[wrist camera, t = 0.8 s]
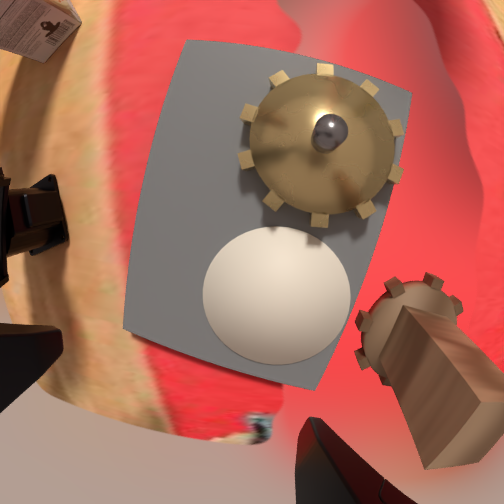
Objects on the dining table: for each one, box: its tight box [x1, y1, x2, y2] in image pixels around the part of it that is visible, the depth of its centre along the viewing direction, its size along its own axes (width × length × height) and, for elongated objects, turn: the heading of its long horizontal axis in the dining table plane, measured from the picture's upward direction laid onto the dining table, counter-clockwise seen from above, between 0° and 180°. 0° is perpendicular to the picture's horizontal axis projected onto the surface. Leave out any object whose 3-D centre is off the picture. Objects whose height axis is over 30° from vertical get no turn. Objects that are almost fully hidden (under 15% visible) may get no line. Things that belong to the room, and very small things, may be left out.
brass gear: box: [237, 63, 404, 228], centre depth 14 cm, size 10×10×4 cm
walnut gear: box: [354, 272, 504, 470], centre depth 14 cm, size 9×9×12 cm
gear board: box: [123, 40, 412, 391], centre depth 19 cm, size 16×23×2 cm
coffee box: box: [0, 0, 82, 63], centre depth 10 cm, size 9×6×16 cm
